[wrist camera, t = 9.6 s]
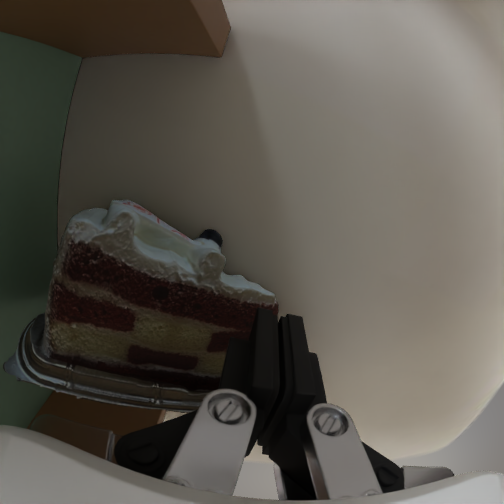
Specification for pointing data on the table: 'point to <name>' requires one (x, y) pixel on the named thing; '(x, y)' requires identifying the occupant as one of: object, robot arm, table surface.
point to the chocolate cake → (136, 313)
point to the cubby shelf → (49, 155)
